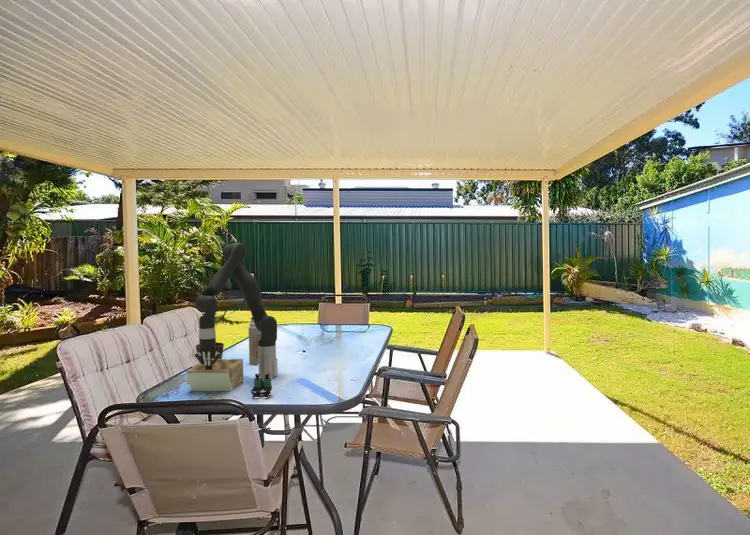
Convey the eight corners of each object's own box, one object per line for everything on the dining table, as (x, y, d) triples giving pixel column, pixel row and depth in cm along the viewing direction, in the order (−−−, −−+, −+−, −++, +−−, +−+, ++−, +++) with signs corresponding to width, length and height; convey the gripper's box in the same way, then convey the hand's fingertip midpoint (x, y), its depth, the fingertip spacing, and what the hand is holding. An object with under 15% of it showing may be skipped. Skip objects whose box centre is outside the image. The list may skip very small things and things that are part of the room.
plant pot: (214, 368, 292) (214, 341, 292) (230, 372, 283) (229, 344, 282) (191, 373, 281) (190, 345, 280) (206, 377, 271) (205, 348, 271)
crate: (243, 381, 262) (242, 359, 261) (232, 390, 246) (231, 366, 246) (206, 381, 263) (205, 359, 263) (192, 390, 248) (192, 366, 247)
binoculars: (249, 380, 228) (253, 372, 238) (250, 402, 230) (254, 393, 240) (269, 379, 229) (272, 371, 239) (270, 401, 230) (273, 393, 240)
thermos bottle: (263, 364, 299) (262, 317, 298) (249, 365, 297) (248, 318, 296) (262, 361, 307) (261, 316, 306) (249, 362, 305) (247, 316, 304)
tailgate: (232, 389, 246) (227, 369, 241) (231, 391, 244) (226, 371, 239) (192, 389, 247) (187, 369, 242) (191, 390, 246) (186, 371, 241)
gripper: (223, 335, 245) (224, 370, 246) (197, 335, 247) (198, 370, 247) (217, 338, 238) (218, 374, 239) (190, 338, 239) (192, 374, 240)
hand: (208, 372), depth 243 cm, fingers closed
